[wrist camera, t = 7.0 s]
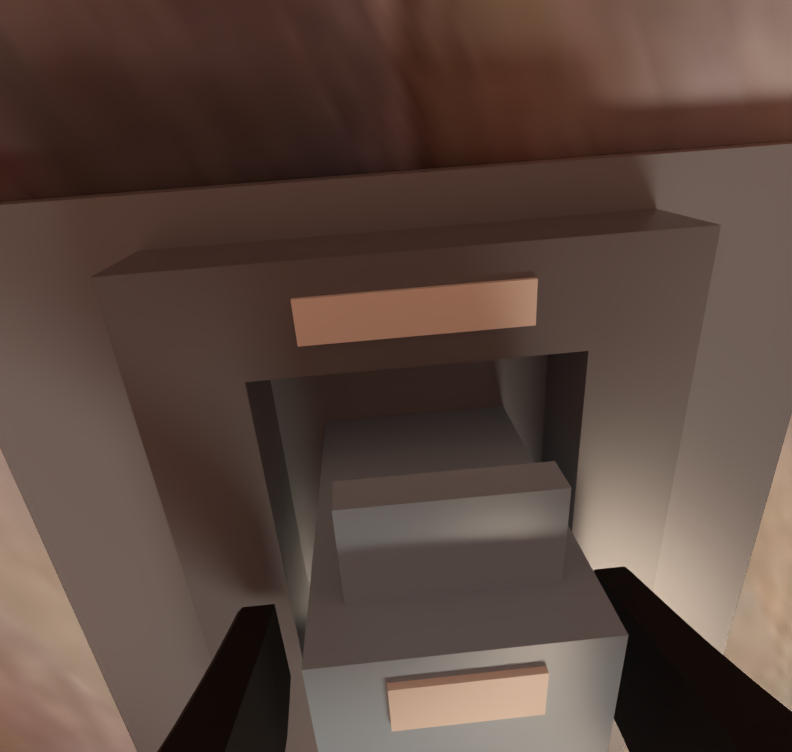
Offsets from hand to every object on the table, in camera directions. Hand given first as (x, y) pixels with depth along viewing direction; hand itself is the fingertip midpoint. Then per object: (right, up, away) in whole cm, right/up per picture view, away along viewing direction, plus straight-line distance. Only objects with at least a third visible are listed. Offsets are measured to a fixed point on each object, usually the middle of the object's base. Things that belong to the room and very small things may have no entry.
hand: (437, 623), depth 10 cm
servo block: (0, +1, +3) cm, 3 cm away
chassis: (0, +2, +4) cm, 4 cm away
